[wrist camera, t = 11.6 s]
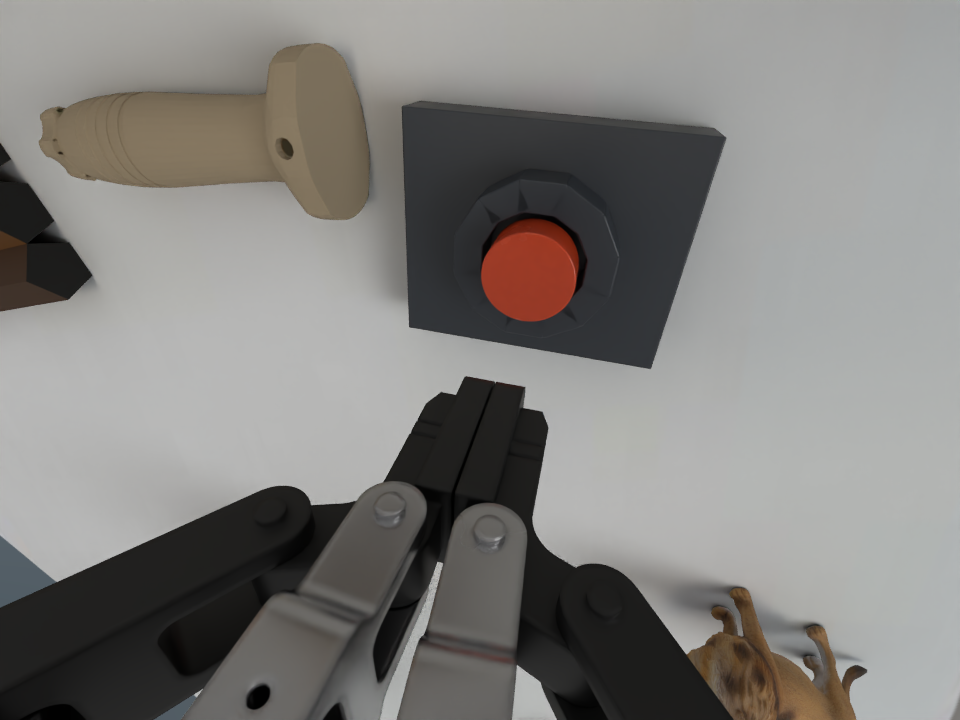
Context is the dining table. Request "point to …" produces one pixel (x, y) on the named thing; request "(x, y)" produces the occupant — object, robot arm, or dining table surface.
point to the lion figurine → (770, 672)
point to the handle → (229, 135)
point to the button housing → (553, 220)
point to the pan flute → (32, 252)
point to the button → (530, 270)
